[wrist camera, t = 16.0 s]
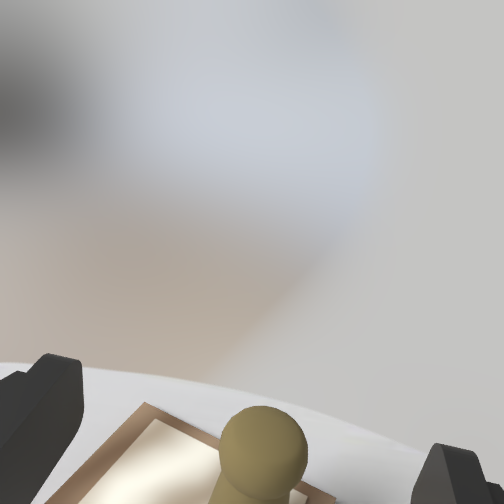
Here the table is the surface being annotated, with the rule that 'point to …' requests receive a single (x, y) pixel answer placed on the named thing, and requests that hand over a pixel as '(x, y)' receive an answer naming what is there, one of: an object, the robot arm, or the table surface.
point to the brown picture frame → (157, 466)
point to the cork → (260, 458)
